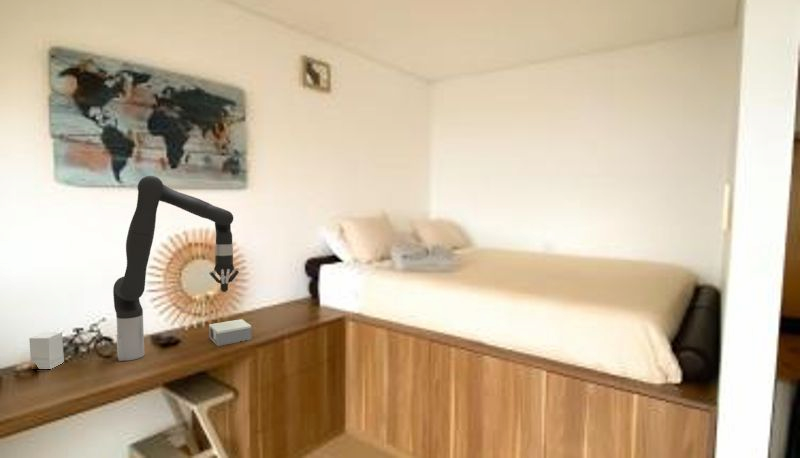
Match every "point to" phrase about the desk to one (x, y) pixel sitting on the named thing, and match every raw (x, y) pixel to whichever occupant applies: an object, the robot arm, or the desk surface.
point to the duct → (231, 336)
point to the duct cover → (229, 326)
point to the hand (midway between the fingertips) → (224, 291)
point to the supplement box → (47, 350)
